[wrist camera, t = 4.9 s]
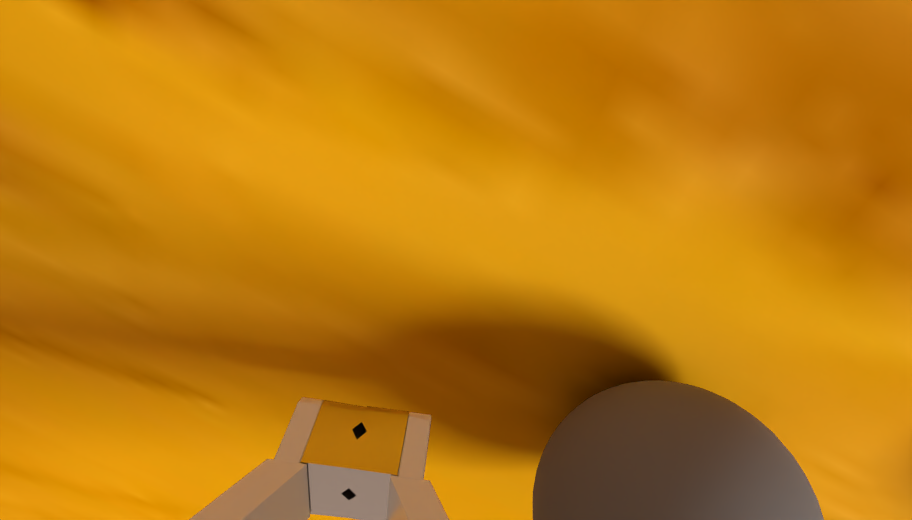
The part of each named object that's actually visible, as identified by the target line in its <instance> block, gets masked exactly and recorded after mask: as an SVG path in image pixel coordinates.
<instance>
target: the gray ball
mask: <svg viewBox="0 0 912 520" xmlns="http://www.w3.org/2000/svg"><path fill="white" fill-rule="evenodd" d="M533 520H824V519H823V515H822V512H821V509H820V506H819V503H818V500H817V498H816V495H815V493H814V491H813V489H812V487H811V485H810V483H809V481H808V479H807V477H806V475H805V474H804V472H803V470H802V469H801V467H800V466H799V464H798V463H797V461H796V460H795V458H794V457H793V455H792V454H791V453H790V452H789V451H788V449H787V448H786V447H785V446H784V445H783V444H782V442H781V441H780V440H779V439H778V438H777V437H776V436H775V434H774V433H773V432H772V431H771V430H769V429H768V428H767V427H766V426H765V425H764V424H763V423H761V422H760V421H759V420H758V419H757V418H755V417H754V416H753V415H752V414H750V413H749V412H747V411H746V410H744V409H743V408H741V407H740V406H738V405H736V404H735V403H733V402H731V401H730V400H728V399H726V398H724V397H721V396H719V395H717V394H715V393H712V392H710V391H707V390H705V389H702V388H699V387H695V386H692V385H688V384H683V383H678V382H672V381H661V380H649V381H637V382H631V383H626V384H621V385H618V386H615V387H611V388H609V389H606V390H604V391H601V392H599V393H597V394H595V395H593V396H591V397H590V398H588V399H587V400H585V401H584V402H582V403H581V404H580V405H579V406H577V407H576V408H575V409H574V410H573V411H571V412H570V413H569V414H568V415H567V416H566V417H565V419H564V420H563V421H562V422H561V423H560V425H559V426H558V427H557V428H556V430H555V431H554V433H553V434H552V436H551V437H550V439H549V441H548V443H547V445H546V447H545V449H544V451H543V454H542V456H541V459H540V462H539V465H538V468H537V472H536V477H535V483H534V489H533Z"/></svg>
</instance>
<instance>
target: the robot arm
mask: <svg viewBox="0 0 912 520" xmlns="http://www.w3.org/2000/svg"><path fill="white" fill-rule="evenodd" d="M430 426H431V415H429V414H421V413H414V412H410V414H409V411H402V410H394V409H386V408H378V407H370V406H367V407H363V406H357V405H351V404H345V403H339V402H333V401H327V400H320V399H313V398H307V397H302V398H301V399H300V401H299V402H298V404H297V406H296V408H295V411H294V413H293V415H292V418H291V420H290V423H289V425H288V427H287V430H286V432H285V435H284V437H283V439H282V442H281V444H280V446H279V449H278V451H277V454H276V456H275V458H274V459H266V460H265V461H264V462H263V463H261V464H260V465H259V466H257V467H256V468H255V469H254V470H252V471H251V472H250V473H248V474H247V475H246V476H245V477H243V478H242V479H241V480H239V481H238V482H237V483H236V484H234V485H233V486H232V487H230V488H229V489H228V490H227V491H225V492H224V493H223V494H221V495H220V496H219V497H218V498H216V499H215V500H214V501H212V502H211V503H210V504H209V505H207V506H206V507H205V508H203V509H202V510H201V511H200V512H198V513H197V514H196V515H194V516H193V517H192V518H191V519H189V520H307V519H308V518H309V517H310V514H317V515H327V516H336V517H346V518H353V519H359V520H449V519H448V517H447V515H446V512H445V510H444V508H443V506H442V504H441V502H440V500H439V498H438V496H437V494H436V492H435V490H434V488H433V486H432V484H431V482H430V481H428V480H423V479H424V472H425V464H426V457H427V449H428V441H429V434H430Z"/></svg>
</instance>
